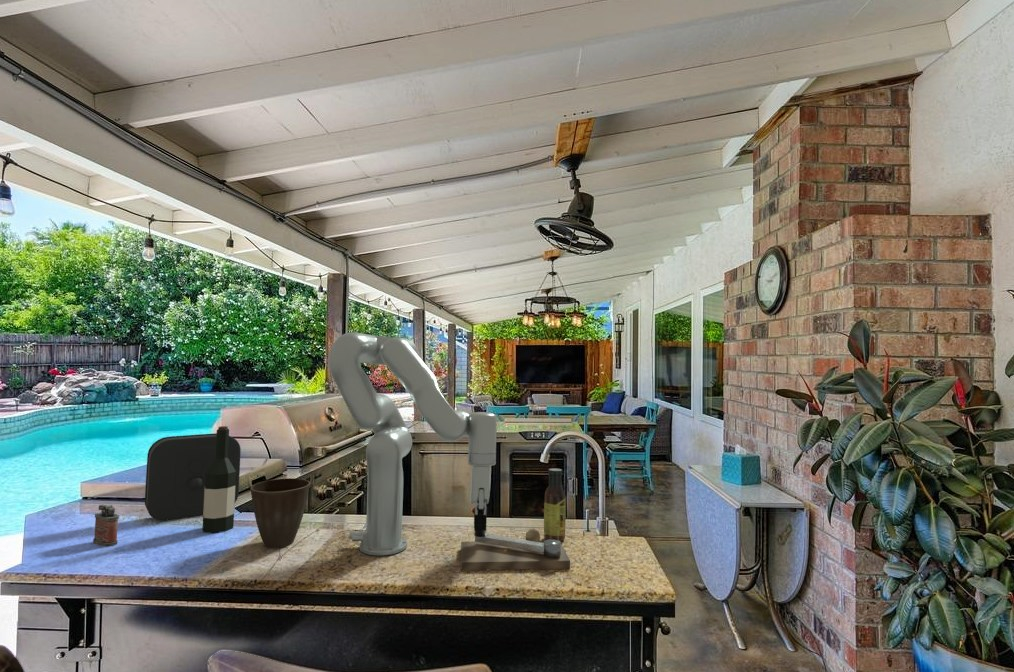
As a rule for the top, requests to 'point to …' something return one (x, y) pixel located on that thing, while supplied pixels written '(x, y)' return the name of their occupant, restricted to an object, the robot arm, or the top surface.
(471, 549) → the board
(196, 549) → the top surface
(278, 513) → the plant pot
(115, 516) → the lighter
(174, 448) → the speaker
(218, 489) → the wine bottle
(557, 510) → the sauce bottle
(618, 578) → the top surface
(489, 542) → the lever
